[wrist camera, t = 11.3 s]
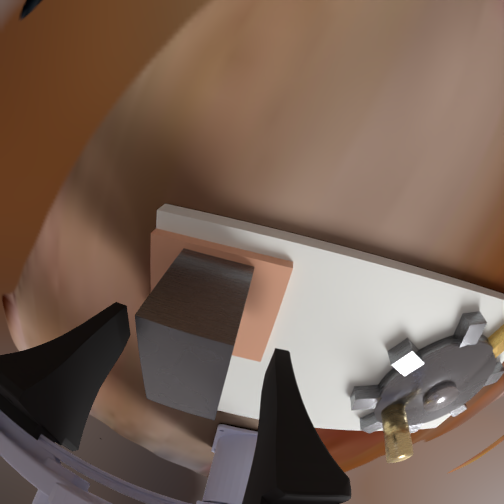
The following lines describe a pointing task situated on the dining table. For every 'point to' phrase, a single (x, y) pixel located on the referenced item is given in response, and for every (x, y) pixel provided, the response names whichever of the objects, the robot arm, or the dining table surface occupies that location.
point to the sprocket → (429, 383)
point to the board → (320, 310)
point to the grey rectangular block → (192, 331)
